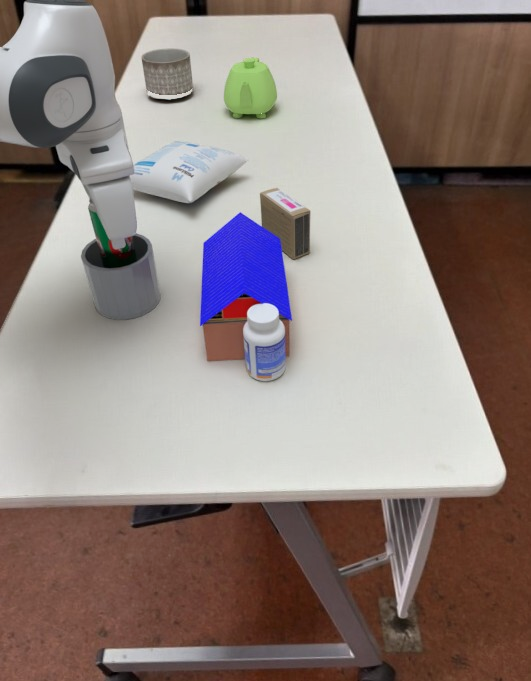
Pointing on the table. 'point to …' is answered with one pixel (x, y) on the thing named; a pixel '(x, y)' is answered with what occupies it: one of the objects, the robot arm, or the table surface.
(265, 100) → the teapot
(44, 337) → the table surface
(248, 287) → the house
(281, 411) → the table surface
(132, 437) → the table surface
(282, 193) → the ink box
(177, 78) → the planter
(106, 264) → the soda can
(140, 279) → the steel cup
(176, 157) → the pouch
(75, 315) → the table surface
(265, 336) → the pill bottle
